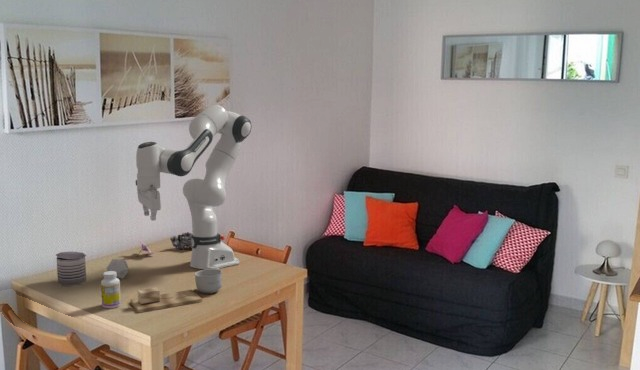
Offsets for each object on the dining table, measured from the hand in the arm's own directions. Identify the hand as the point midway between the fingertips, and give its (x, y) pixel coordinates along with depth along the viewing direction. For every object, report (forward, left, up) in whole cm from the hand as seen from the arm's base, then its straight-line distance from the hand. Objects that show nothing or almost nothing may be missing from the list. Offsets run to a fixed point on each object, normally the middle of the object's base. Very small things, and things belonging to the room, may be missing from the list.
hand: (149, 217), depth 252 cm
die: (+9, -20, -29) cm, 37 cm away
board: (0, +19, -29) cm, 35 cm away
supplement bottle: (+19, +13, -29) cm, 37 cm away
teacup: (-20, +14, -29) cm, 38 cm away
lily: (-10, -47, -29) cm, 56 cm away
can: (+27, -23, -29) cm, 46 cm away
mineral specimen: (-31, -49, -29) cm, 65 cm away
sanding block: (+6, +19, -28) cm, 34 cm away
